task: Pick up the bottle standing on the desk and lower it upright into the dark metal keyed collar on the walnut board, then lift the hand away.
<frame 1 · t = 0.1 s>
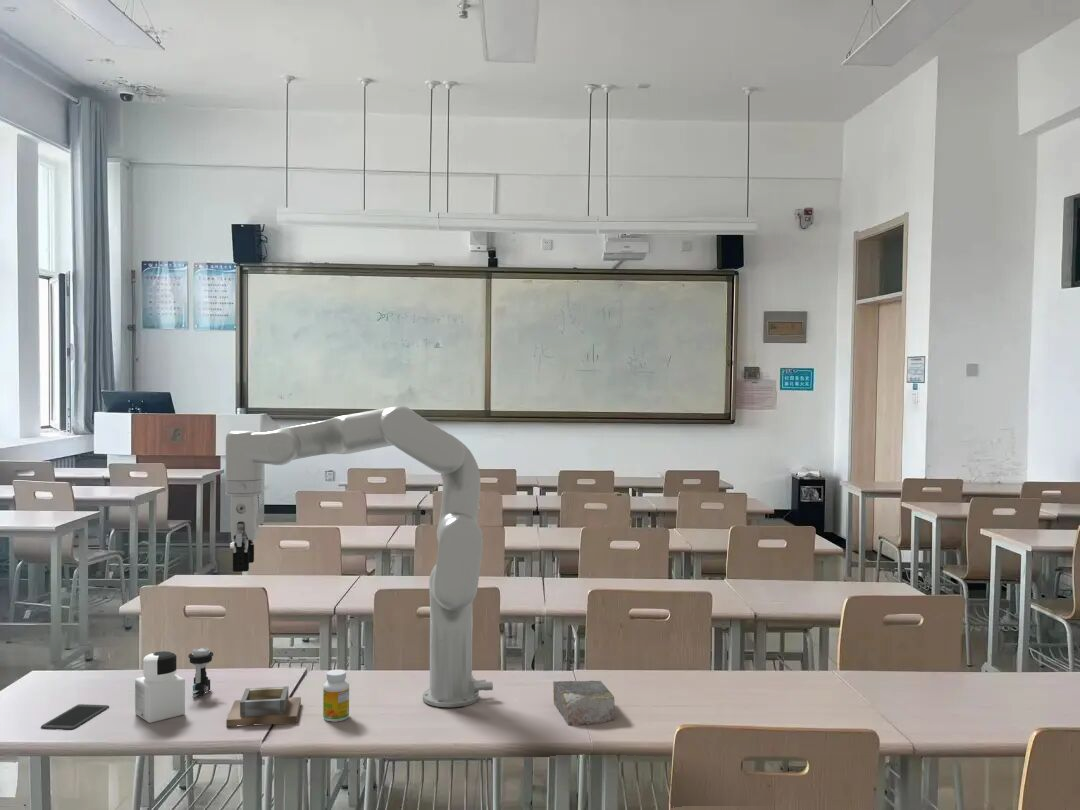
hand: (243, 566, 201), 31 cm above the table, tool pointing down, fingers open, 9 cm apart
collar board: (264, 715, 198), on the table
push button: (199, 695, 211), on the table
supplement bottle: (336, 718, 197), on the table
geological specimen: (584, 714, 202), on the table
cell phone: (75, 720, 196), on the table
container: (160, 715, 198), on the table
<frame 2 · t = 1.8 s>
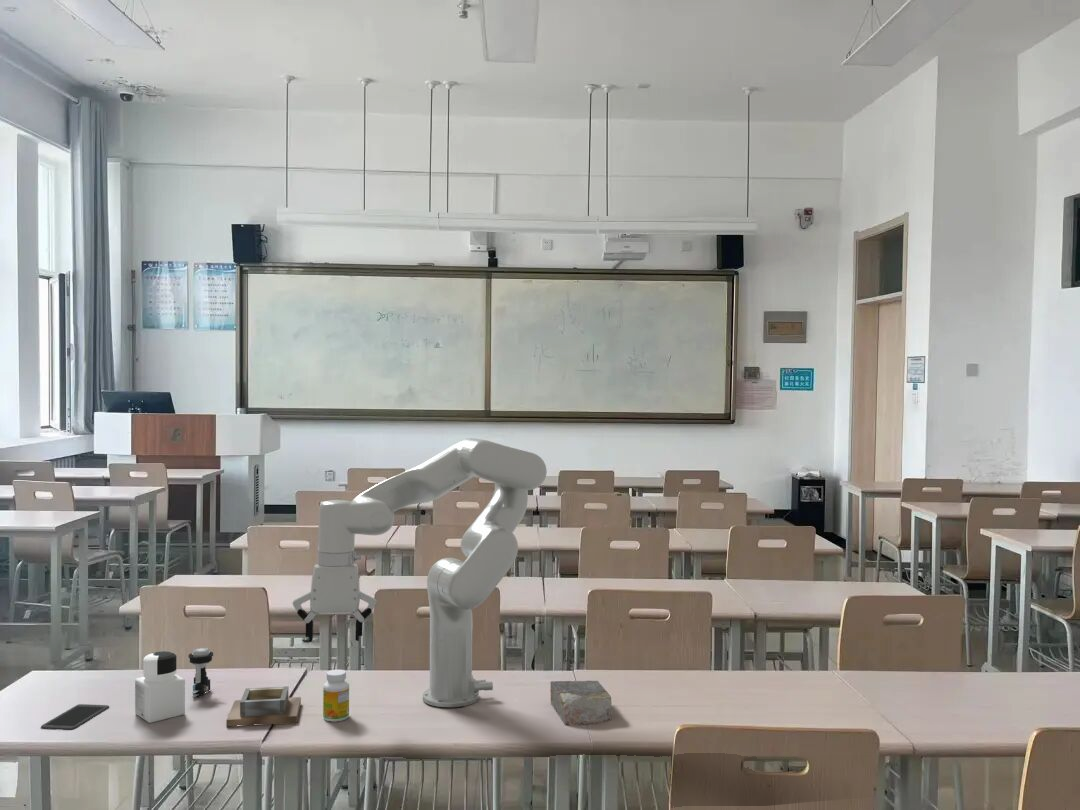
hand: (334, 639, 197), 17 cm above the table, tool pointing down, fingers open, 9 cm apart
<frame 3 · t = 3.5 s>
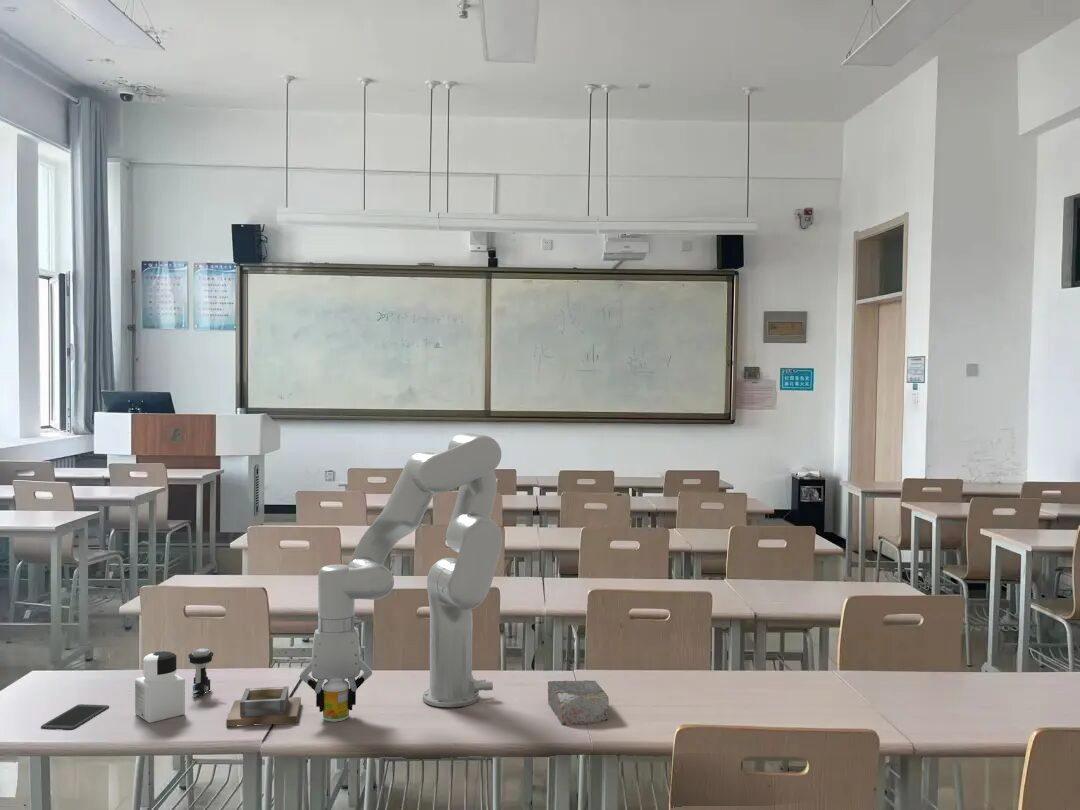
hand: (336, 708, 197), 2 cm above the table, tool pointing down, fingers closed on supplement bottle, 5 cm apart
supplement bottle: (336, 718, 197), on the table, touching gripper
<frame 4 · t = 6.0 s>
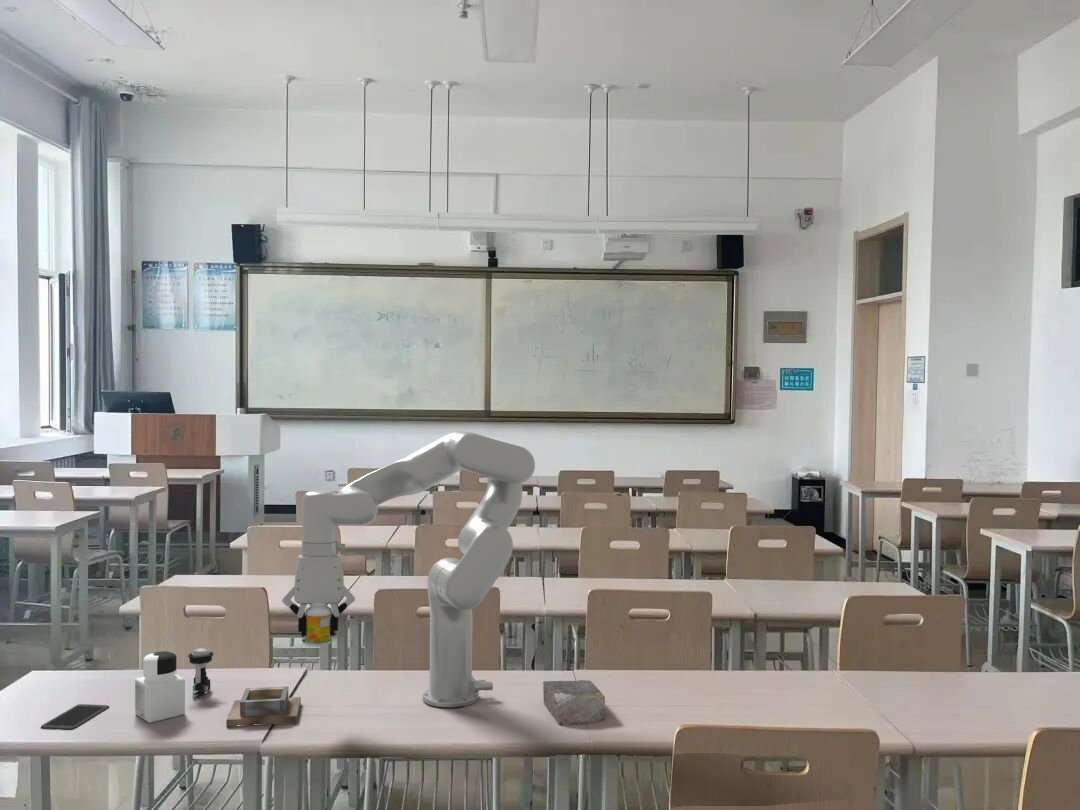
hand: (318, 633, 197), 18 cm above the table, tool pointing down, fingers closed on supplement bottle, 5 cm apart
supplement bottle: (318, 644, 197), point 16 cm above the table, touching gripper
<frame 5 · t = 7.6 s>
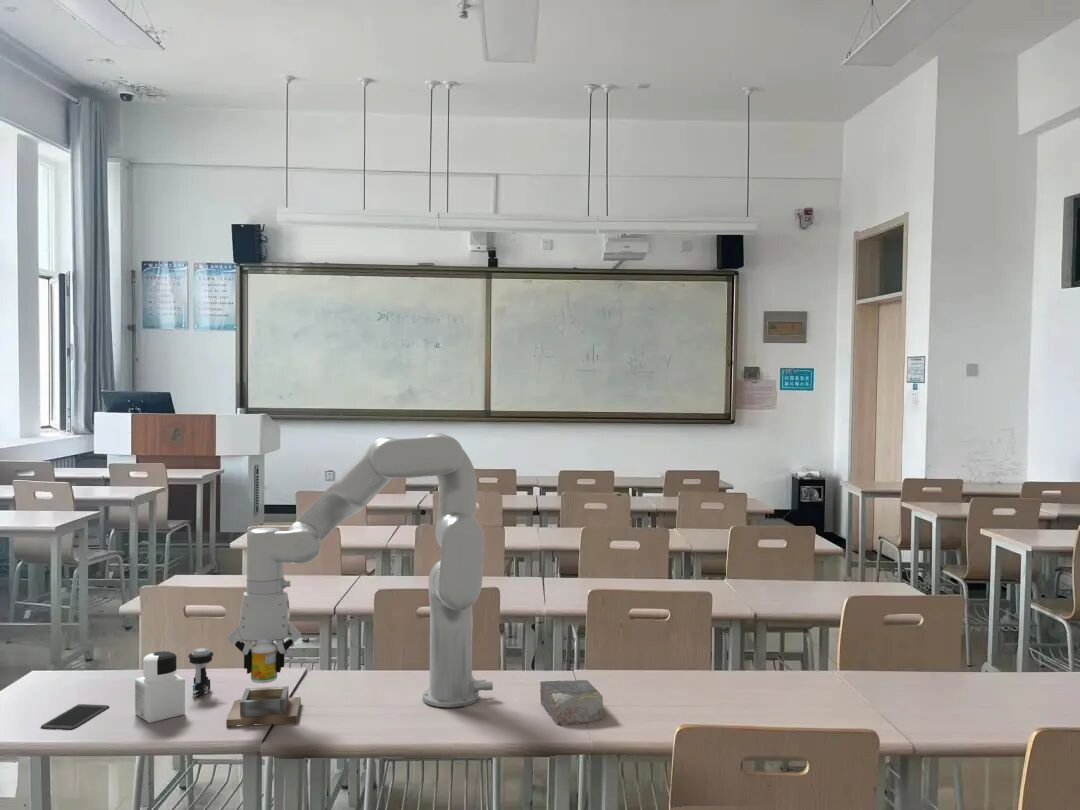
hand: (264, 670, 198), 10 cm above the table, tool pointing down, fingers closed on supplement bottle, 5 cm apart
supplement bottle: (264, 680, 198), point 7 cm above the table, touching gripper
when the fingers open (6 cm above the table, at t = 8.7 s): supplement bottle drops 2 cm, resting on collar board.
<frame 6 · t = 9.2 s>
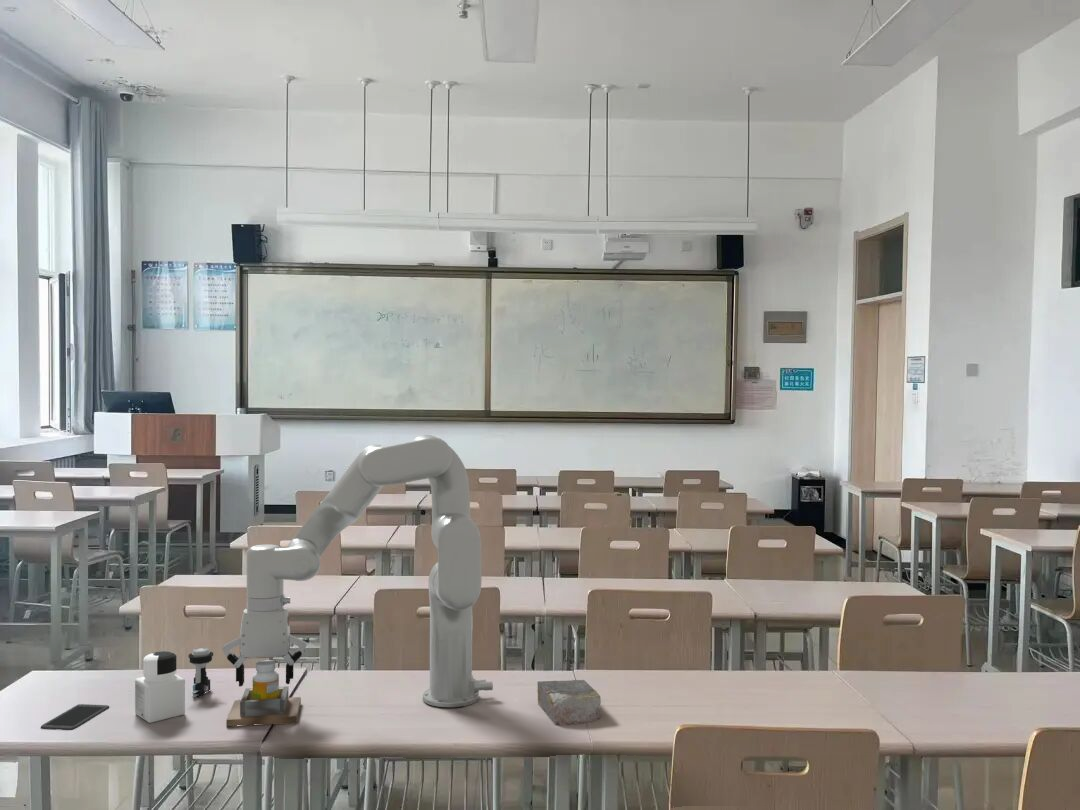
hand: (264, 683, 198), 7 cm above the table, tool pointing down, fingers open, 9 cm apart
supplement bottle: (265, 708, 198), point 1 cm above the table, touching collar board
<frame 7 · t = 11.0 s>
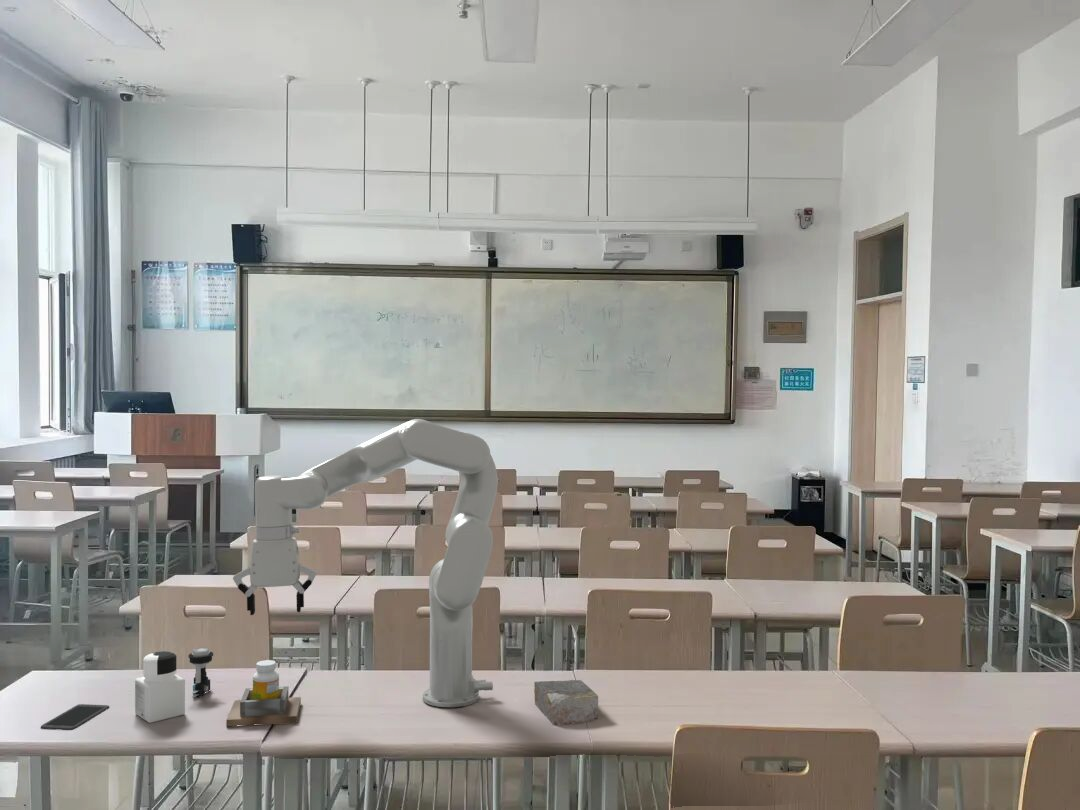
hand: (275, 612, 201), 21 cm above the table, tool pointing down, fingers open, 9 cm apart
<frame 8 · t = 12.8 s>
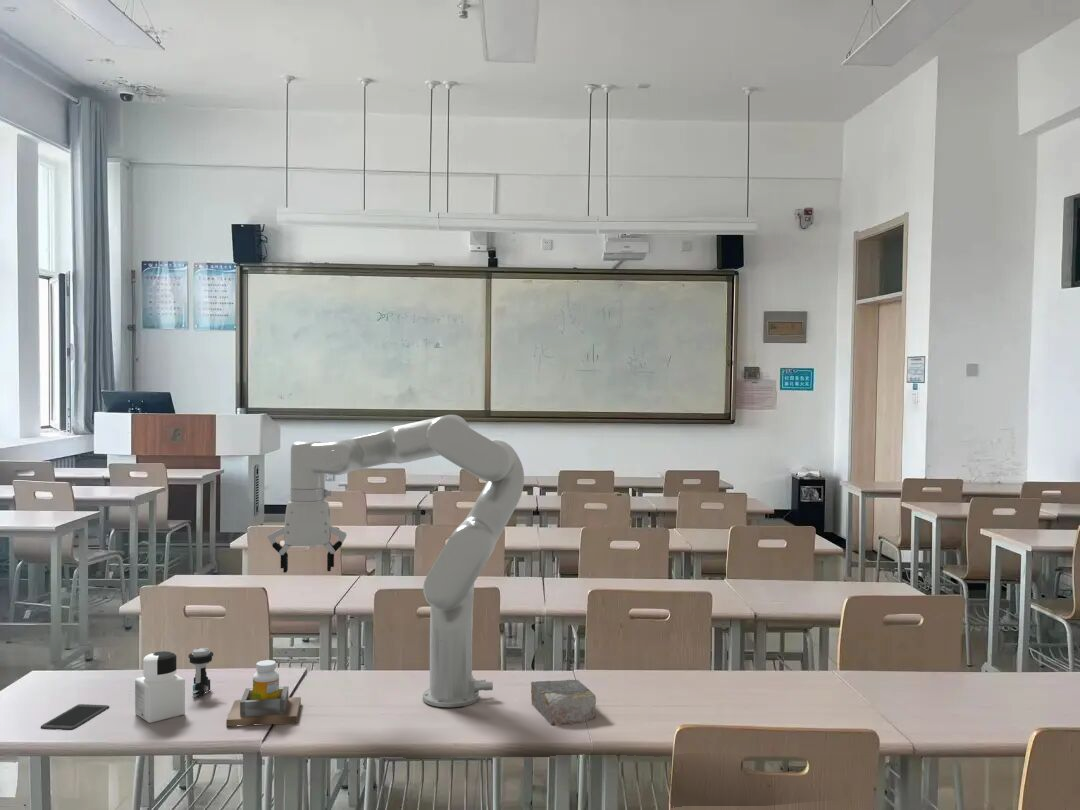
hand: (307, 570, 211), 28 cm above the table, tool pointing down, fingers open, 9 cm apart
at the end: supplement bottle 0.2 cm off-centre on the collar board, point 1.3 cm above the collar board's base; supplement bottle tilted 0°; the gripper is holding nothing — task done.
